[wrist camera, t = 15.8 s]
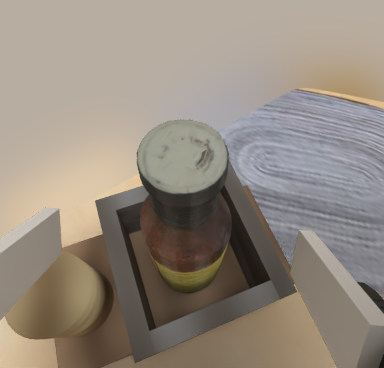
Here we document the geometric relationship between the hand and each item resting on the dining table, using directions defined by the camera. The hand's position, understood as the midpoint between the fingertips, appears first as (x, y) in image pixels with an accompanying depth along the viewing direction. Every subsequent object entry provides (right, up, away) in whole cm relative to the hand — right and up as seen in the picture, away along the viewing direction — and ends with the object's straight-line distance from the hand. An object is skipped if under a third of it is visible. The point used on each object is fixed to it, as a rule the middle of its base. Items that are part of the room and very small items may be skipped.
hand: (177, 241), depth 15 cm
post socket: (-2, -7, +15) cm, 17 cm away
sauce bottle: (0, -5, +14) cm, 15 cm away
